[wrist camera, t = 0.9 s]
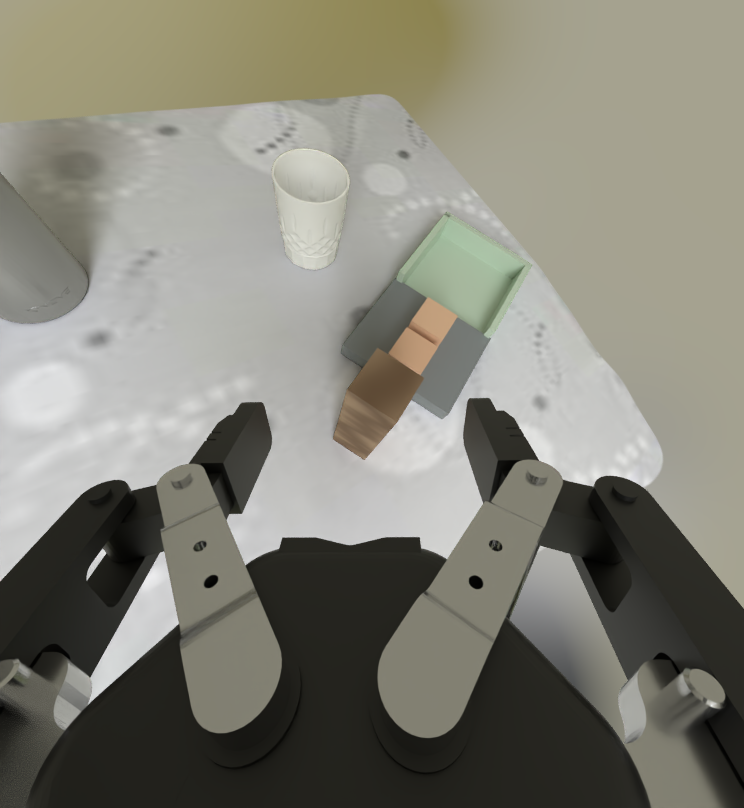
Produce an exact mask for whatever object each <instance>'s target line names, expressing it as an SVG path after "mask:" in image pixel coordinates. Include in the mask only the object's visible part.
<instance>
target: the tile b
mask: <svg viewBox="0 0 744 808" xmlns="http://www.w3.org/2000/svg"><path fill="white" fill-rule="evenodd" d="M457 317H458V316H457V315H456V314H454V313H453V312H451V311H450V310H448V309H446V308H445V307H443V306H442V305H440V304H439V303H437V302H435V301H434V300H432V299H431V298H429V297H428V298H427V299H426V301H425V302H424V303H423V305H422V306H421V308H420V309H419V311H418V312H417V313H416V315H415V316H414V318H413V319H412V320H411V322H410V324H409V326H408V328H409V329H411V330H413V331H414V332H416V333H417V334H419V335H420V336H422V337H423V338H425V339H427V340H428V341H430V342H431V343H433V344H434V345H436V346H437V347H438V346H439V345H440V343H441V342H442V340H443V339H444V337H445V336H446V334H447V333H448V331H449V329H450V328H451V326H452V325H453V323H454V321H455V320H456V318H457Z"/></svg>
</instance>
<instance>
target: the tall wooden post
mask: <svg viewBox="0 0 744 808" xmlns="http://www.w3.org/2000/svg"><path fill="white" fill-rule="evenodd" d="M423 380H424V377H422V376H421V375H419V374H417V373H416V372H414V371H413V370H411V369H410V368H408V367H407V366H405V365H404V364H402V363H400V362H399V361H397V360H396V359H394V358H393V357H391V356H390V355H388V354H387V353H385V352H383V351H382V350H380V349H379V348H377V349H376V351H375V352H374V353H373V355H372V356H371V358H370V359H369V360H368V362H367V363H366V364H365V366H364V367H363V368H362V370H361V371H360V373H359V374H358V375H357V377H356V378H355V379H354V381H353V382H352V383H351V385H350V386H349V388H348V389H347V392H346V395H345V399H344V402H343V406H342V409H341V413H340V416H339V420H338V423H337V427H336V430H335V434H334V437H333V440H335V441H336V442H338V443H339V444H341V445H342V446H344V447H345V448H347V449H348V450H350V451H351V452H353V453H354V454H356V455H357V456H359V457H361V458H362V459H364V460H365V459H366V458H367V456H368V455H369V454H370V453H371V452H372V451H373V450H374V448H375V447H376V446H377V445H378V444H379V443H380V441H381V440H382V439H383V438H384V437H385V436H386V434H387V433H388V432H389V431H390V430H391V429H392V428H393V426H394V425H395V424H396V423H397V422H398V420H399V418H400V417H401V415H402V414H403V412H404V410H405V409H406V407H407V406H408V404H409V402H410V401H411V399H412V398H413V396H414V394H415V393H416V391H417V390H418V388H419V386H420V385H421V383H422V382H423Z"/></svg>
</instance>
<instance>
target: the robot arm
mask: <svg viewBox="0 0 744 808" xmlns="http://www.w3.org/2000/svg"><path fill="white" fill-rule="evenodd" d="M87 288H88V277H87V273H86V271H85V270H84V268H83V266H82V265H81V264H80V263H79V262H78V261H77V260H76V258H75V257H74V256H73V255H72V254H71V253H70V252H69V251H68V249H67V248H66V247H65V246H64V245H63V244H62V243H61V241H60V240H59V239H58V238H57V237H56V235H55V234H54V233H53V232H52V231H51V230H50V229H49V227H48V226H47V225H46V224H45V223H44V222H43V221H42V219H41V218H40V217H39V216H38V215H37V214H36V213H35V212H34V210H33V209H32V208H31V207H30V206H29V205H28V204H27V202H26V201H25V200H24V199H23V198H22V197H21V196H20V194H19V193H18V192H17V191H16V190H15V189H14V188H13V186H12V185H11V184H10V183H9V182H8V181H7V180H6V178H5V177H4V176H3V175H2V174H1V173H0V318H3V319H5V320H8V321H11V322H17V323H40V322H46V321H49V320H53V319H56V318H58V317H60V316H62V315H64V314H66V313H68V312H69V311H71V310H72V309H73V308H75V307H76V306H77V305H78V304H79V303H80V302H81V300H82V299H83V297H84V296H85V294H86V291H87ZM463 439H464V446H465V449H466V452H467V455H468V458H469V461H470V465H471V468H472V471H473V474H474V477H475V480H476V483H477V486H478V489H479V492H480V495H481V498H482V501H483V505H482V506H481V508H480V510H479V511H478V513H477V514H476V516H475V517H474V519H473V520H472V522H471V523H470V525H469V527H468V528H467V530H466V531H465V533H464V534H463V536H462V537H461V539H460V540H459V542H458V544H457V545H456V547H455V548H454V550H453V551H452V553H451V554H450V556H449V558H448V559H446V558H444V557H442V556H440V555H438V554H436V553H434V552H431V551H429V550H425V549H422V548H421V544H420V537H385V538H381V539H377V540H372V541H368V542H364V543H360V544H356V545H344V544H340V543H336V542H332V541H328V540H324V539H320V538H282V541H281V545H280V548H279V549H277V550H274V551H271V552H268V553H266V554H264V555H262V556H259V557H258V558H256V559H254V560H253V561H251V562H250V563H248V564H247V565H245V564H244V561H243V559H242V557H241V554H240V552H239V550H238V547H237V545H236V542H235V540H234V538H233V535H232V533H231V531H230V528H229V526H228V523H227V521H226V520H227V517H228V515H229V514H242V512H243V510H244V508H245V506H246V503H247V501H248V499H249V497H250V494H251V492H252V490H253V487H254V485H255V483H256V481H257V478H258V476H259V474H260V472H261V469H262V467H263V465H264V462H265V460H266V458H267V456H268V453H269V451H270V449H271V444H272V435H271V431H270V427H269V423H268V419H267V415H266V411H265V407H264V405H263V403H262V402H246V403H241V404H240V405H239V407H238V408H237V410H236V411H235V413H234V414H233V415H228V416H227V417H226V418H224V419H223V420H222V421H220V422H219V423H218V424H217V425H216V427H215V428H214V429H213V431H212V433H210V435H209V436H208V438H207V441H205V442H204V443H203V445H202V446H201V447H200V449H199V450H198V452H197V453H196V454H195V456H194V457H193V458H192V460H191V461H190V463H189V464H185V465H181V466H179V467H176V468H174V469H172V470H170V471H169V472H167V473H166V474H164V475H163V476H162V477H161V478H160V480H159V481H158V483H157V485H155V486H150V487H146V488H142V489H138V490H133V491H131V489H130V487H129V486H128V484H127V483H126V482H125V481H122V480H112V481H107V482H104V483H101V484H98V485H96V486H94V487H92V488H90V489H89V490H87V491H86V492H84V493H83V494H82V495H81V496H80V497H79V498H78V499H77V500H76V501H75V502H74V503H73V504H72V505H71V506H70V507H69V508H68V509H67V510H66V511H65V513H64V514H63V515H62V516H61V517H60V518H59V519H58V520H57V521H56V522H55V523H54V524H53V525H52V527H51V528H50V529H49V530H48V531H47V532H46V533H45V534H44V535H43V536H42V537H41V538H40V539H39V541H38V542H37V543H36V544H35V545H34V546H33V547H32V548H31V549H30V550H29V551H28V552H27V553H26V554H25V556H24V557H23V558H22V559H21V560H20V561H19V562H18V563H17V564H16V565H15V566H14V567H13V568H12V570H11V571H10V572H9V573H8V574H7V575H6V576H5V577H4V578H3V579H2V580H1V581H0V808H744V609H743V607H742V606H741V605H740V604H739V603H738V601H737V600H736V599H735V598H734V597H733V595H732V594H731V593H730V592H729V590H728V589H727V588H726V587H725V585H724V584H723V583H722V582H721V581H720V579H719V578H718V577H717V576H716V574H715V573H714V572H713V571H712V570H711V568H710V567H709V566H708V564H707V563H706V562H705V561H704V560H703V558H702V557H701V556H700V555H699V554H698V552H697V551H696V550H695V549H694V547H693V546H692V545H691V544H690V542H689V541H688V540H687V539H686V538H685V536H684V535H683V534H682V533H681V531H680V530H679V529H678V528H677V526H676V525H675V524H674V523H673V522H672V520H671V519H670V518H669V517H668V516H667V514H666V513H665V512H664V511H663V510H662V508H661V507H660V506H659V504H658V503H657V502H656V501H655V499H654V498H653V497H652V496H651V495H650V494H649V493H648V491H646V490H645V489H644V488H643V487H641V486H640V485H638V484H636V483H635V482H632V481H630V480H628V479H625V478H621V477H617V476H604V477H601V478H599V479H597V480H596V482H595V484H594V486H593V487H592V486H587V485H582V484H578V483H573V482H569V481H566V480H563V479H562V476H561V475H560V473H559V472H558V471H557V470H556V469H555V468H553V467H552V466H550V465H548V464H546V463H544V462H541V461H539V460H538V458H537V456H536V455H535V453H534V451H533V449H532V448H531V446H530V444H529V443H528V441H527V439H526V438H525V437H524V434H523V433H522V431H521V429H519V426H518V424H517V423H516V421H515V419H514V418H513V417H512V416H510V415H509V414H508V413H506V412H505V411H496V409H495V407H494V405H493V403H492V402H491V400H490V399H489V398H470V399H469V400H468V402H467V409H466V417H465V424H464V432H463ZM540 546H544V547H547V548H551V549H555V550H559V551H562V552H566V553H570V555H571V557H572V559H573V561H574V563H575V565H576V567H577V570H578V572H579V574H580V576H581V579H582V581H583V583H584V585H585V587H586V589H587V592H588V594H589V596H590V598H591V600H592V603H593V605H594V607H595V609H596V611H597V614H598V616H599V618H600V620H601V622H602V625H603V627H604V629H605V631H606V633H607V635H608V638H609V640H610V642H611V644H612V647H613V648H614V651H615V653H616V655H617V657H618V660H619V662H620V664H621V666H622V668H623V671H624V673H625V675H626V677H627V679H628V681H627V682H626V683H625V684H624V685H623V686H622V688H621V690H620V692H619V700H618V701H619V702H618V703H619V709H620V713H621V716H622V719H623V723H624V728H625V742H624V744H623V743H622V741H621V740H620V738H619V736H618V735H617V733H616V732H615V731H614V729H613V728H612V727H611V726H610V724H609V723H608V722H607V720H606V719H605V718H604V717H603V716H602V715H601V714H600V712H599V711H597V710H596V708H595V707H594V706H593V705H592V704H591V703H590V702H589V701H588V700H587V699H586V698H585V697H584V696H583V695H582V694H581V693H580V692H579V691H578V690H577V689H576V688H575V687H574V686H573V685H572V684H571V683H570V682H569V681H568V680H567V679H566V677H565V676H563V674H561V672H560V671H559V670H558V669H557V668H556V667H555V666H554V665H553V664H552V663H551V662H550V661H549V660H548V659H547V658H546V657H545V656H544V655H543V654H542V653H541V652H540V651H539V650H538V649H537V648H536V647H535V646H534V645H533V644H532V643H531V642H530V641H529V640H528V639H527V638H526V637H525V636H524V634H523V633H522V632H521V631H520V630H519V629H518V628H517V627H516V626H515V625H514V624H513V623H512V622H511V621H510V618H511V615H512V613H513V610H514V608H515V605H516V603H517V600H518V598H519V595H520V593H521V590H522V588H523V585H524V583H525V581H526V578H527V576H528V573H529V571H530V568H531V566H532V564H533V561H534V559H535V557H536V554H537V552H538V549H539V547H540ZM102 548H103V549H104V550H105V552H106V555H105V556H104V558H103V559H102V560H101V562H100V563H99V565H98V566H97V568H96V569H95V570H94V572H93V573H92V575H91V576H90V577H89V579H88V580H86V576H87V571H88V568H89V566H90V565H91V563H92V562H93V561H94V559H95V558H96V556H97V555H98V554H99V552H100V551H101V550H102ZM163 551H164V552H165V557H166V561H167V566H168V571H169V576H170V581H171V586H172V591H173V596H174V601H175V606H176V611H177V616H178V621H179V624H178V625H177V626H176V627H175V628H174V629H173V630H172V631H170V632H169V633H168V634H167V635H166V636H165V637H164V638H163V639H161V640H160V641H159V642H158V643H157V644H156V645H155V646H154V647H152V648H151V649H150V650H149V651H148V652H147V653H146V654H145V655H143V656H142V657H141V658H140V659H139V660H138V661H137V662H136V663H134V664H133V665H132V666H131V667H130V668H129V669H128V670H127V671H125V672H124V673H123V674H122V675H121V676H120V677H119V678H118V679H116V680H115V681H114V682H113V683H112V684H111V685H110V686H108V687H107V688H106V689H105V690H104V691H103V692H102V693H101V694H99V695H98V696H97V697H96V698H95V699H94V700H93V701H92V702H91V703H90V704H89V705H88V702H89V700H90V696H91V692H92V682H91V679H90V677H91V675H92V673H93V671H94V670H95V668H96V666H97V664H98V663H99V661H100V659H101V657H102V655H103V654H104V652H105V650H106V648H107V646H108V645H109V643H110V641H111V639H112V637H113V636H114V634H115V632H116V630H117V628H118V627H119V625H120V623H121V621H122V619H123V618H124V616H125V614H126V612H127V610H128V609H129V607H130V605H131V603H132V602H133V600H134V598H135V596H136V594H137V593H138V591H139V589H140V587H141V585H142V584H143V582H144V580H145V578H146V576H147V575H148V573H149V571H150V569H151V567H152V566H153V564H154V562H155V560H156V558H157V557H158V555H159V553H160V552H163Z"/></svg>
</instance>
